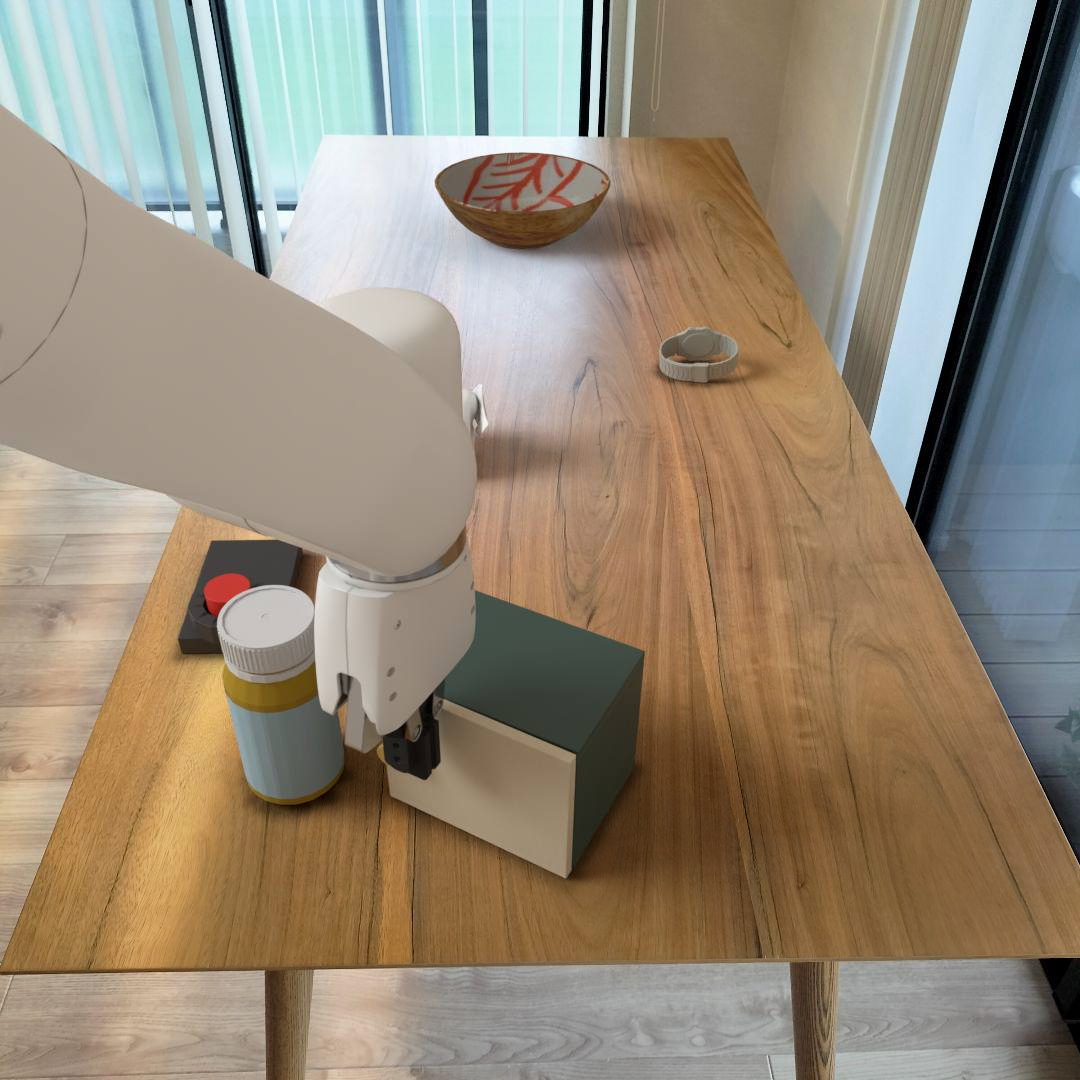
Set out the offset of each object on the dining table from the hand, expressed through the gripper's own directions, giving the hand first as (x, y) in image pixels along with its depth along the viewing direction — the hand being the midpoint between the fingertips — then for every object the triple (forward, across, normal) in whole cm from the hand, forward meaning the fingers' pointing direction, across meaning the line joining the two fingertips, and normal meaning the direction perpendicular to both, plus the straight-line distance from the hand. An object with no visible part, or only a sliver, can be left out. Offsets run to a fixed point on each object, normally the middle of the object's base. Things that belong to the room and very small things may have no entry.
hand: (412, 763), depth 68 cm
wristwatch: (+7, -71, -8) cm, 72 cm away
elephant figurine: (+8, -41, -24) cm, 48 cm away
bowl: (+6, -98, -46) cm, 109 cm away
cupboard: (+8, -8, +3) cm, 12 cm away
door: (+8, -2, +3) cm, 9 cm away
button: (+5, -11, -25) cm, 28 cm away
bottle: (+8, -1, -11) cm, 14 cm away
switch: (+8, -14, -27) cm, 32 cm away
